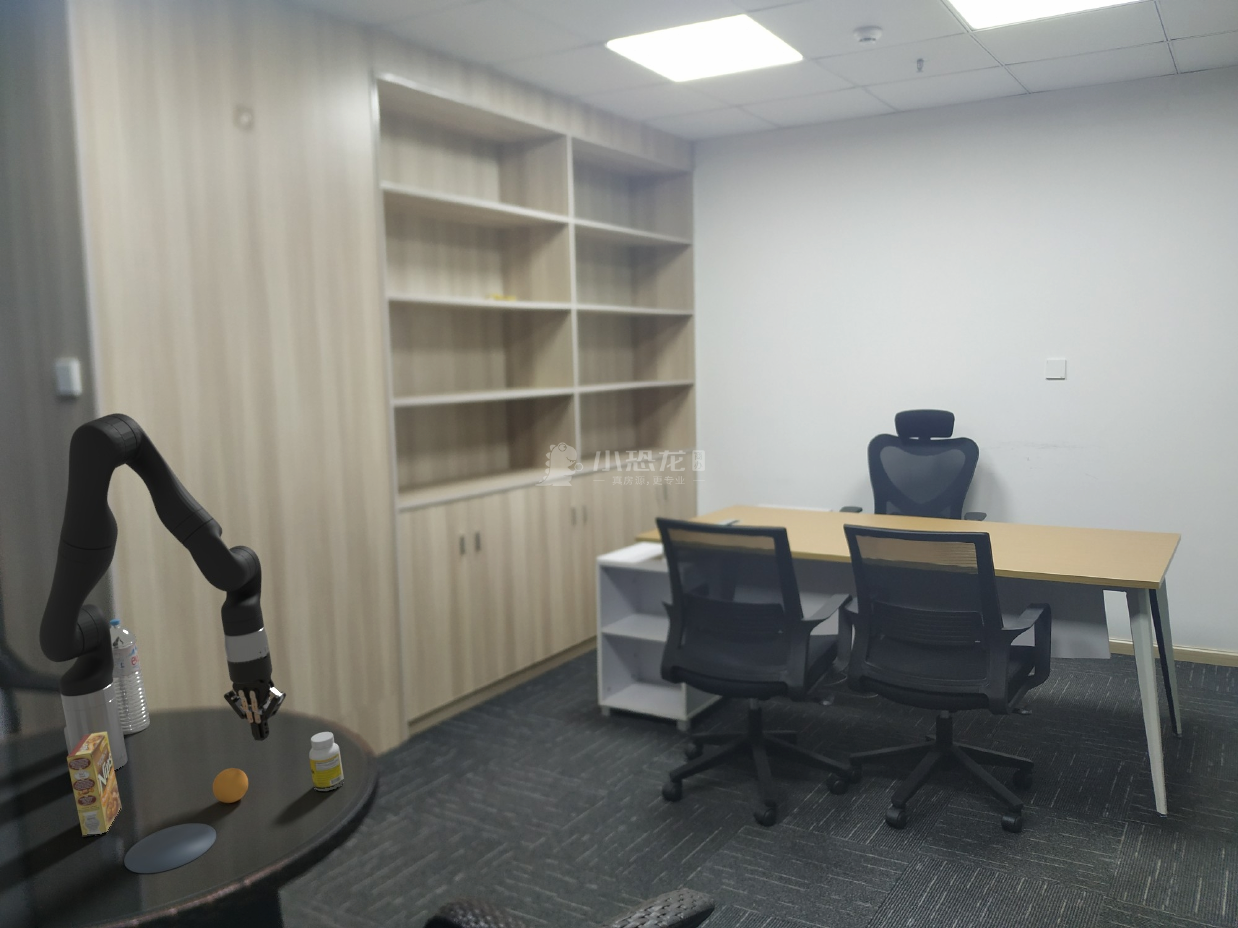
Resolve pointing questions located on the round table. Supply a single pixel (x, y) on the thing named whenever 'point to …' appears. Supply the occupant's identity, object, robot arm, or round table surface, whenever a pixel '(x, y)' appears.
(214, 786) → the ball
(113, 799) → the candy box
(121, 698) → the water bottle
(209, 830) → the blue-grey plate
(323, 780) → the supplement bottle
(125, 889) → the round table surface
